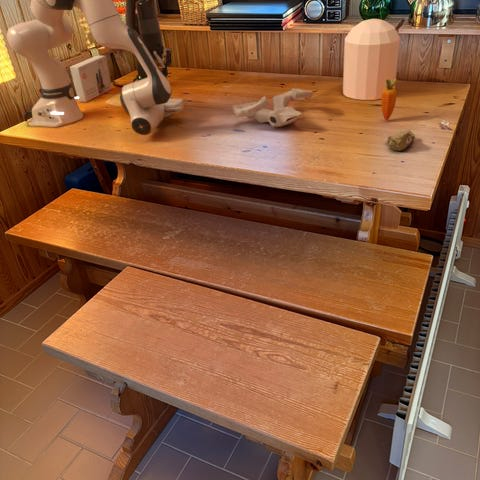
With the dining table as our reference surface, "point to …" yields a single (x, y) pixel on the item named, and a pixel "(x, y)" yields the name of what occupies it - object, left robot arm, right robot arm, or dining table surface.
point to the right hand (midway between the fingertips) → (158, 77)
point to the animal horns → (280, 112)
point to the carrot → (388, 99)
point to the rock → (400, 140)
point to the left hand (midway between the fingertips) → (163, 99)
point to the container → (370, 59)
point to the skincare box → (91, 78)
